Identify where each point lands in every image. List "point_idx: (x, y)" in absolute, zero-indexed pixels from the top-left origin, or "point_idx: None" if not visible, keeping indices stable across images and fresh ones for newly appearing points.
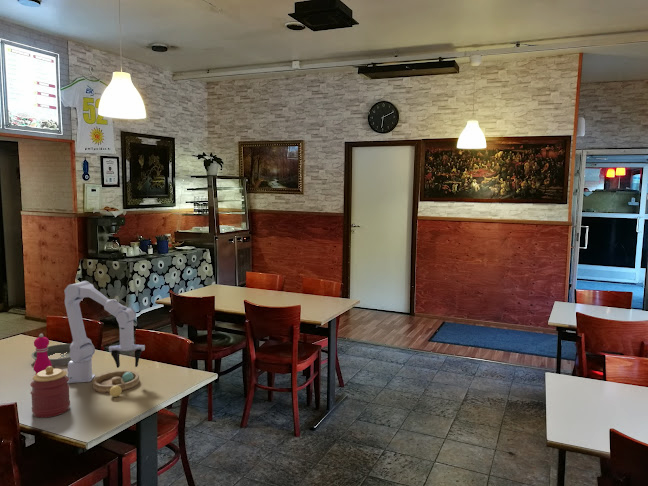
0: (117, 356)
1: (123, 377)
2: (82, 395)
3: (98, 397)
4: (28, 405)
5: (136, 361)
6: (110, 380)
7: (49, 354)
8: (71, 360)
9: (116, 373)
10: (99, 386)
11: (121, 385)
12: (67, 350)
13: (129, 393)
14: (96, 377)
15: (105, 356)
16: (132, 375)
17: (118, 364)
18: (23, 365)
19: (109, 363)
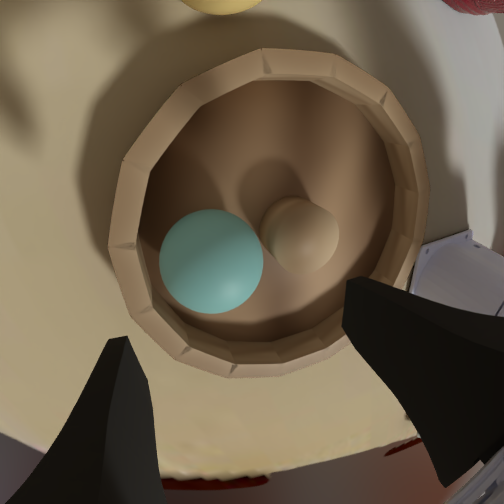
0: (471, 367)
1: (244, 226)
2: (413, 63)
3: (327, 2)
4: (497, 42)
5: (91, 398)
6: (336, 266)
7: None
8: None
9: (324, 339)
10: (379, 84)
11: (207, 71)
12: None
13: (117, 42)
14: (419, 243)
15: (367, 438)
16: (165, 272)
17: (370, 305)
18: None
19: (356, 417)
